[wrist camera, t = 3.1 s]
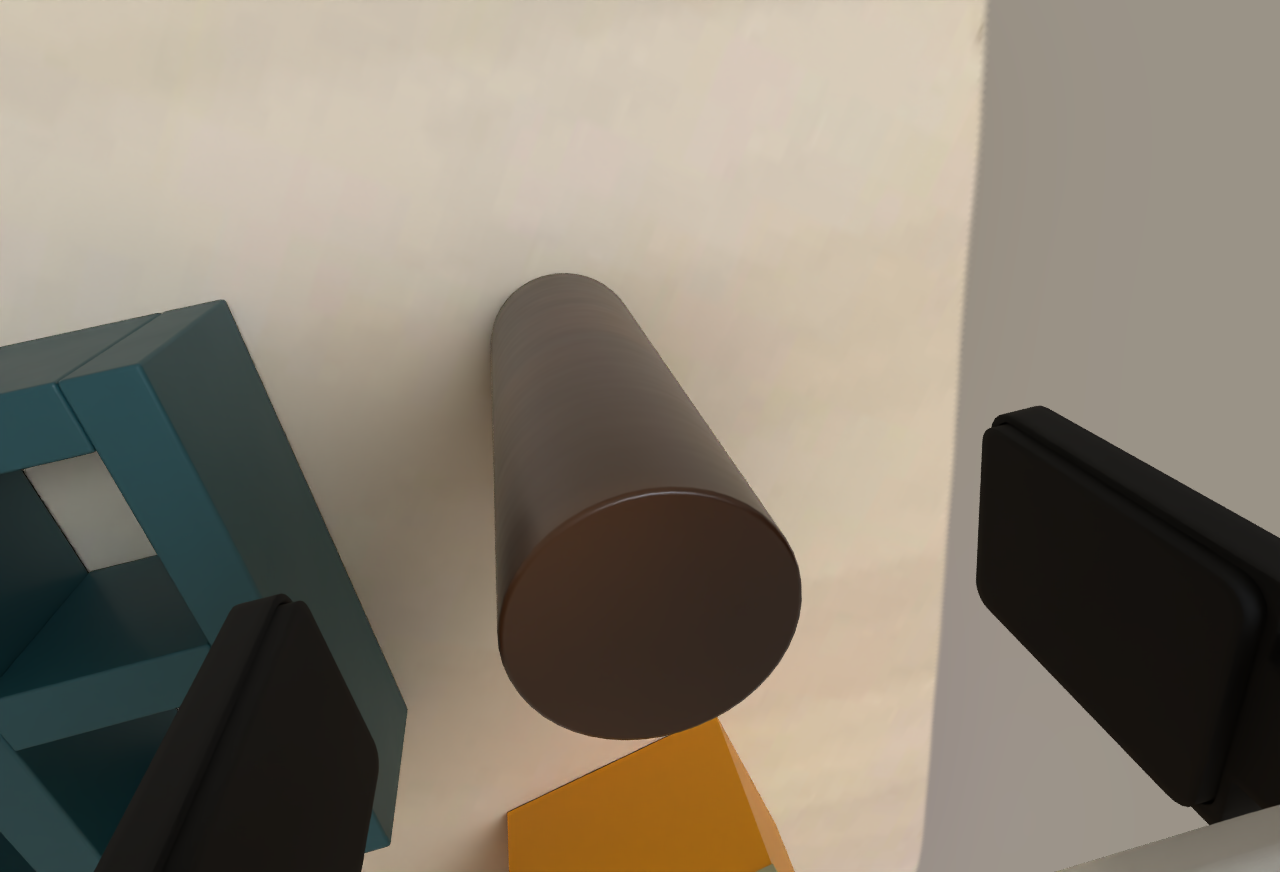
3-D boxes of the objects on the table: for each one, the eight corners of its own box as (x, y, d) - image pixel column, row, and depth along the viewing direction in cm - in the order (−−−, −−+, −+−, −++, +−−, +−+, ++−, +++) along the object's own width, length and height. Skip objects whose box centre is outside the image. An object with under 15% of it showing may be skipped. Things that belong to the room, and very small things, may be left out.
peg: (511, 426, 21) (540, 775, 10) (473, 291, 19) (457, 539, 8) (646, 393, 21) (813, 696, 10) (620, 258, 19) (792, 453, 9)
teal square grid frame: (-43, 834, 23) (-173, 1012, 18) (-418, 436, 16) (-756, 561, 12) (408, 709, 24) (391, 846, 20) (226, 298, 18) (138, 363, 13)
